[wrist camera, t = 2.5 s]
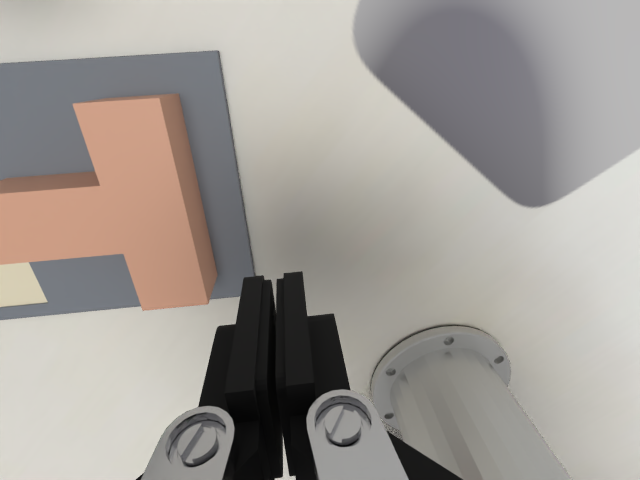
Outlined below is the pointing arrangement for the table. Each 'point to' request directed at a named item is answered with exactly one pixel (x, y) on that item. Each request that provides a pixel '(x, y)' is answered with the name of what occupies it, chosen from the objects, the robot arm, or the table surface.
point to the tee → (121, 203)
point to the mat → (73, 157)
